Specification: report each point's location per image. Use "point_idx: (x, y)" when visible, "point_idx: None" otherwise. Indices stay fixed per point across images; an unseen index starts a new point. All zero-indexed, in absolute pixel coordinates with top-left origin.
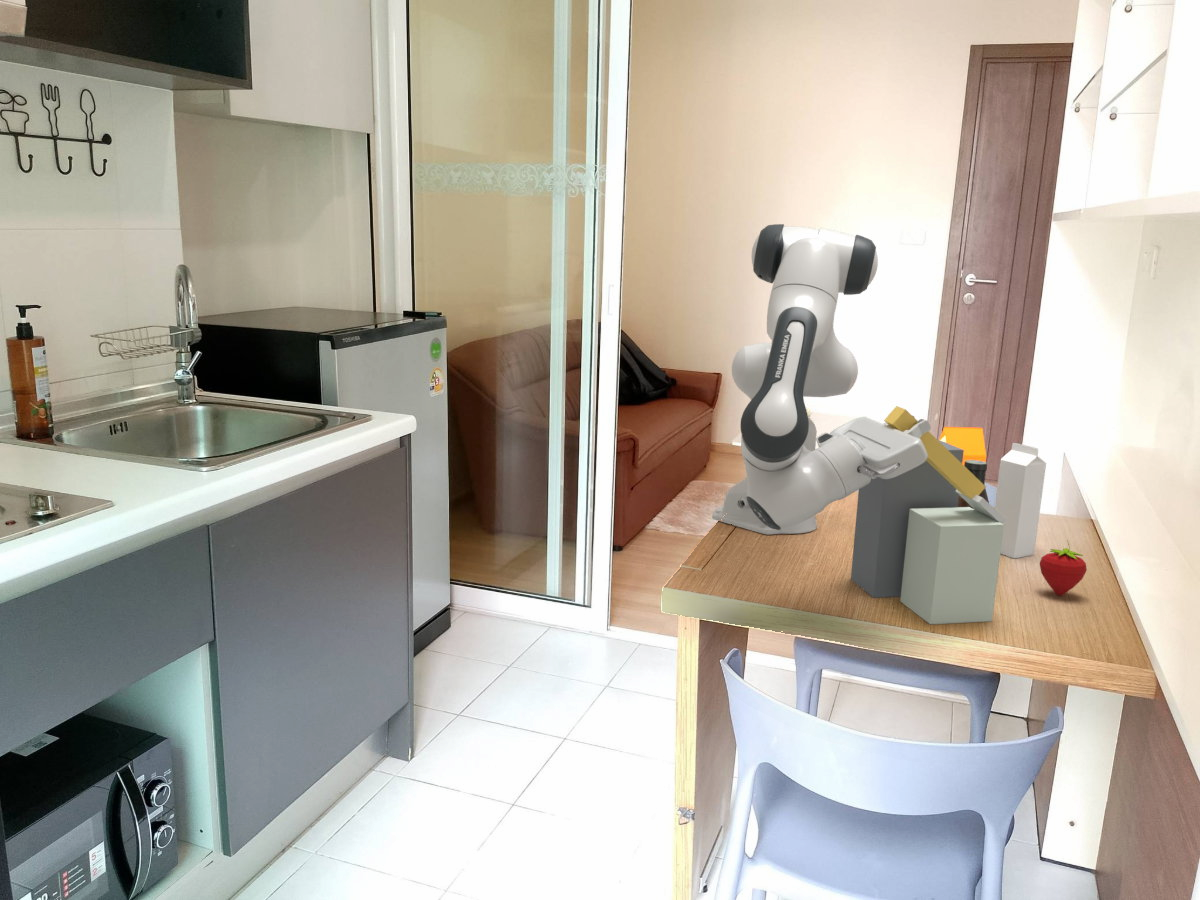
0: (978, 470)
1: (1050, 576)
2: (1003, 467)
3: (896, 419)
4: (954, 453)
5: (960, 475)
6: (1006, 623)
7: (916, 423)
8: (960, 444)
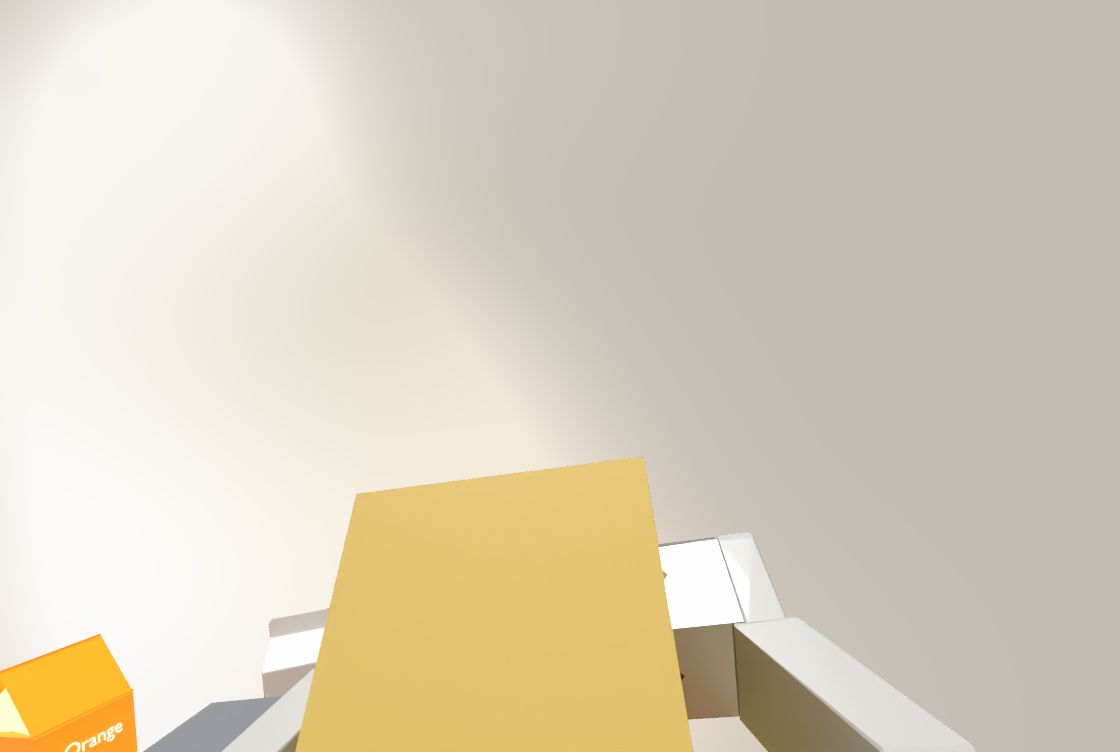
0: None
1: None
2: (276, 689)
3: (669, 685)
4: None
5: None
6: None
7: (719, 608)
8: (59, 695)
